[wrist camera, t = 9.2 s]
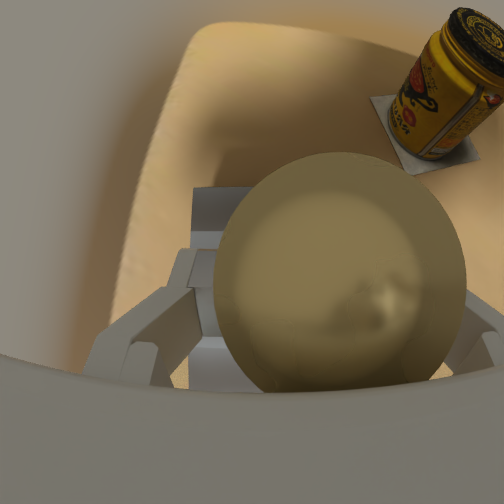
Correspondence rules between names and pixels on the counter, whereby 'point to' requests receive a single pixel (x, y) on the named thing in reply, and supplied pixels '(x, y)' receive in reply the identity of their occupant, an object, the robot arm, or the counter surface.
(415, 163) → the condiment
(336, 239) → the translucent yellow cylinder
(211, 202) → the jig
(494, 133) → the counter surface
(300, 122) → the counter surface
